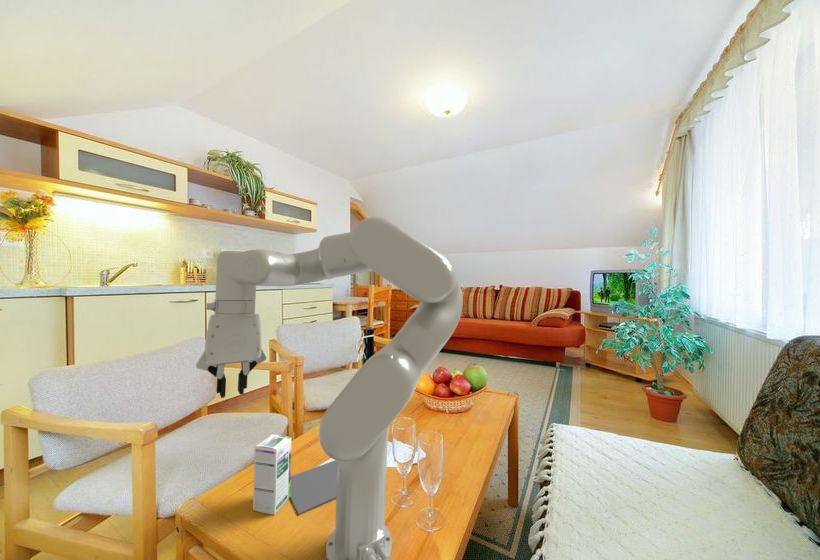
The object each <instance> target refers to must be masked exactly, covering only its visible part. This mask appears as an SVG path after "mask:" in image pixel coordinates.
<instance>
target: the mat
mask: <svg viewBox="0 0 820 560" xmlns="http://www.w3.org/2000/svg"><path fill="white" fill-rule="evenodd" d="M337 468H338V461H337V460H332V461H330V462H326V463H324V464H321V465H319V466H316V467H312V468H309V469H307V470H304V471H302V472H298V473H296V474H293V475H291V478H290V498H289V499H290V501H291V503H292V505H293V506H294V509H295V512H296V513H297V515H298V516H301V515H303V514H305V513H308V512H309V511H312V510H314V509H316V508H319V507H321V506H323V505H326V504H327V503H329V502H332V501H334V500H336V492H337Z"/></svg>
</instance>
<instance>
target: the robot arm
mask: <svg viewBox="0 0 820 560" xmlns="http://www.w3.org/2000/svg"><path fill="white" fill-rule="evenodd" d="M369 272H374V273H375V274H377V275H379V276H380V277H382V279H384V280H386V281H387V282H389V283H390V284H392V285H393V286H394V287H396V288H397V289H399V290H400V291H402V292H404V293H405V294H407V295H408V296H409V297H411V298H413V299H414V300H417V301H418V302H419V304H418V306H417V307H416V309H415V310H414V312H413V313H412V314H411V315H410V316H409V317H408V319H407V320H406V321H405V323H404V325H403V326H402V327H401V328H400V329H399V331H398V332H397V333H396V334H395V336H394V337H393V338H392V339H391V340H390V341H389V343H387V344H386V345H385V346H383V347H382V348H380V349H379V350H378V351H376V352H375V353H374V354H373V355H371V356H370V357H369V358H368V359H367V360H366V361H365V362H364V364H362V365H361V367H360V368H359V369H358V370H357V371H356V372H355V374H354V375H353V376H352V378H350V380H349V382H348V383H347V384H346V385H345V387H343V389H342V390H341V391H340V393H339V394H338V395H337V397H335V399H334V400H332V401H333V402H331V404H330V405H329V407H328V408H327V409H326V410H325V412H324V414H322V415H323V416H322V417H321V419H320V422H319V426H318V427H319V428H318V438H319V443H320V446H321V448H322V450H323V452H324V453H325V455H326V456H328V457H329V458H331V459H333V461H335V460H337V461H338V468H337V492H336V499H335V502H336V503H335V524H334V525H335V526H334V529H333V531H332V532H331V534H329V537H328V539H327V541H326V546H325V556H326V560H392V556H391V554H392V553H391V552H392V549H393V548H392V545H393V539H392V534H391V531H390V530H389V528H388V526H387V525H385V521H386V520H385V519H386V493H387V491H386V489H387V468H388V467H387V465H388V462H387V461H388V443H389V435H390V434H389V432H390V425H392V423H393V422H394V421H395V420H396V419H397V417H398V416H399V415H400V413H401V412H402V411H403V410H404V408H405V407H406V406H407V405H408V403H409V402H410V400H411V398H412V396H413V395H414V393H415V391H416V389H417V386H418V384H419V382H420V379H421V377H422V375H424V372H425V371H426V370H427V368H428V367H429V366H430V365H431V363H432V362H433V361H434V360H435V358H436V357H437V356H438V354H439V353H440V351H441V350H442V349H443V347H444V346H445V345H446V343H447V342H448V341H449V340H450V338H451V337H452V335H453V334H454V333H455V331H456V328H458V324H459V322H460V319H461V316H462V313H463V312H462V311H463V307H464V305H463V303H464V302H463V301H464V298H463V297H464V296H463V290H462V286H461V283H460V281H459V278H458V276H457V273H456V271H455V268H454V267H453V265H452V264H451V262H450V261H449V260H448V259H447V258H446V257H444V255H442V254H441V253H439V252H438V251H435V250H434V249H433V248H431V247H429V246H428V245H426V244H425V243H423V242H422V241H421V240H419V239H417V238H415V237H414V236H412V235H411V234H409V233H408V232H406V231H405V230H403V229H402V228H400V227H398V226H397V225H396V224H395V223H392V222H391V221H390V220H388V219H386V218H384V217H379V216H371V217H367V218H365V219H362V220H361V221H359V222H358V223H357V224H356V225H354V227H353V229H352V230H351V231H349V232H343V233H338V234H333V235H327V236H324V237H323V238H322V239H321V240H320V242H319V246H318V247H317V248H315V249H312V250H307V251H301V252H297V253H284V252H280V251H279V252H278V251H274V250H268V249H261V248H260V249H259V248H258V249H257V248H256V249H250V250H244V251H242V250H222V251H221V252H219V253H218V255H217V257H216V276H215V277H216V279H215V297H214V301H213V302H210V303H209V302H208V303H207V302H206V310H208V311H209V310H210V311H213V312H214V314H210V317H209V321H208V325H207V330H206V336H205V345H204V351H203V352H202V354H201V355H200V358H199V359H198V361H197V362H196V364H195V366H196V369H199V370H202V371H206V372H209V373H210V374H211V375H212V376H214V377H215V378H216V388H215V389H216V394H219V396H220V398H221V399H224V398H225V397H226V389H227V388H226V387H227V386H226V385H227V378H226V375H225V367H226V366H225V365H231V364H240V370H239V373H238V376H237V377H238V379H237V392H238V394H239V395H244V393H245V389H248V375H249V374H250V372H251V371H253V369H254V368H255V367H256V366H257V365H260V364H261V363H263V362H265V361H266V360H267V356H266V355H265V352H264V351H263V349H262V326H261V318H260V314H258V313H256V294H257V293H256V291H257V286H258V287H293V286H298V285H305V284H310V283H316V282H321V281H324V280H331V279H335V278H340V277H346V276H352V275H357V274H363V273H369Z"/></svg>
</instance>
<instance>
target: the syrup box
mask: <svg viewBox="0 0 820 560" xmlns="http://www.w3.org/2000/svg"><path fill="white" fill-rule="evenodd" d="M253 464H254V465H253V493H252V494H253V496H252V498H253V499H252V500H253V501H252V510H253V511H255V512H259V513H263V514H268V515H272V516H275V515H276V514H277V512H278V511H279V510H280V509H281V508H282V507H283V506H284V505H285V503H286V502H287V501H288V500H289V499H290V478H291V476H292V475H291V474H292V471H291V470H292V469H291V468H292V437H291V436H288V435H283V434H273V433H271V434H270V435H269V436H268V437H266V438H265V439H264V440H262V441H261V442H260V443H258V444H256V445H255V446H254V459H253Z"/></svg>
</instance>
